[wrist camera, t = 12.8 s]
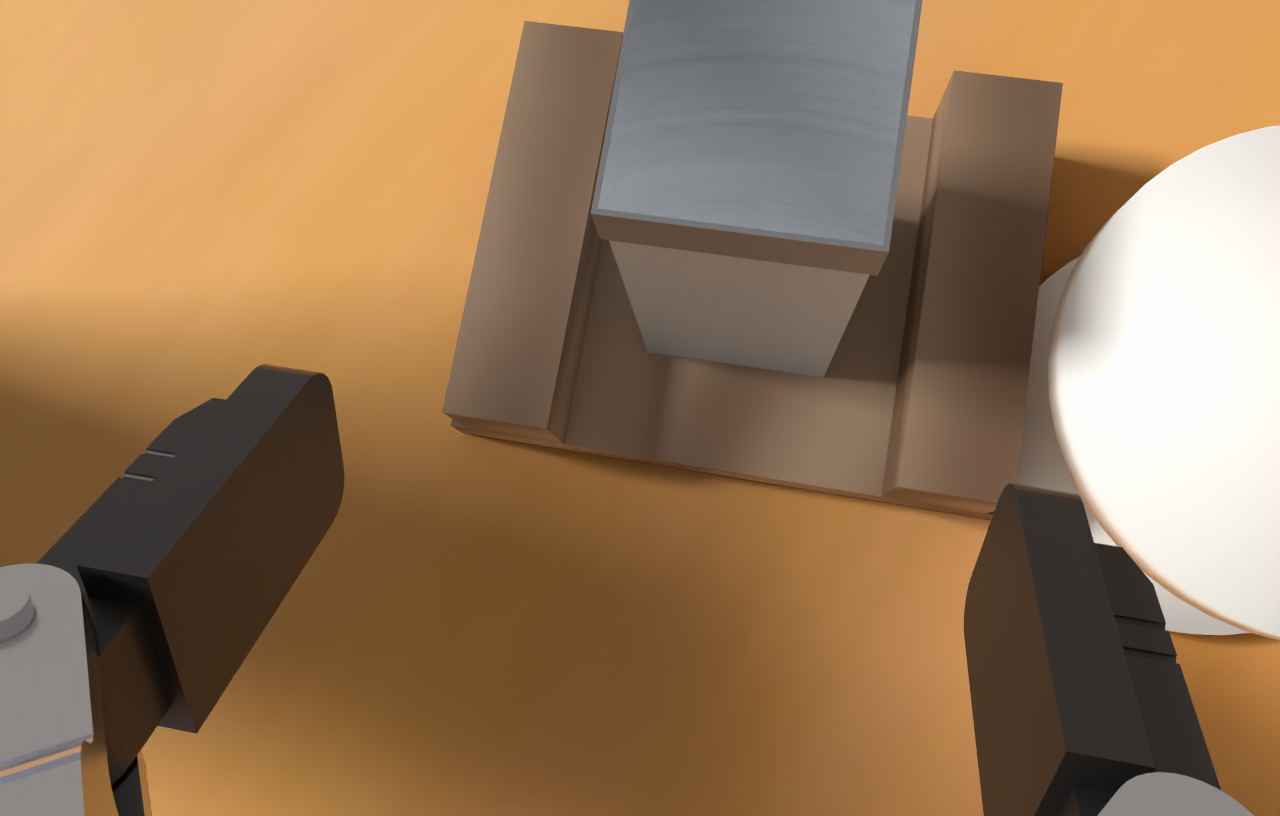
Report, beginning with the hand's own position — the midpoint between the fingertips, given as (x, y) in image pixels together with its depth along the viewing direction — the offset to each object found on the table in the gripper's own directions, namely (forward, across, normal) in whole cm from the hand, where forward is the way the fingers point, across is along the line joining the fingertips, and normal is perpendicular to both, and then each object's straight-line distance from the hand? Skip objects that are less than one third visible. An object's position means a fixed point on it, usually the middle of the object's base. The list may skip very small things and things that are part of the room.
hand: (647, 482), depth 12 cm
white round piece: (+13, -12, +7) cm, 19 cm away
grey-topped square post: (+14, 0, +5) cm, 15 cm away
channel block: (+15, 0, +5) cm, 16 cm away
